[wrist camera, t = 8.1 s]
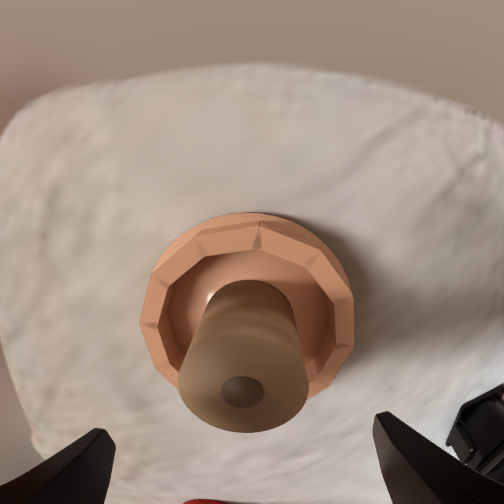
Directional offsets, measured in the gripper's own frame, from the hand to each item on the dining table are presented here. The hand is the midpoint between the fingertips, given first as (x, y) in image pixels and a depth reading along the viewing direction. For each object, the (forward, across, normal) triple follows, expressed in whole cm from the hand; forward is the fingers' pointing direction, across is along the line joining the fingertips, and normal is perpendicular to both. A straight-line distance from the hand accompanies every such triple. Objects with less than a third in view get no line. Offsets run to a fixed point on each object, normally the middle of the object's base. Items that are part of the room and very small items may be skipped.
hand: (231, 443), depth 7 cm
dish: (+10, 0, 0) cm, 10 cm away
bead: (+9, 0, 0) cm, 9 cm away
